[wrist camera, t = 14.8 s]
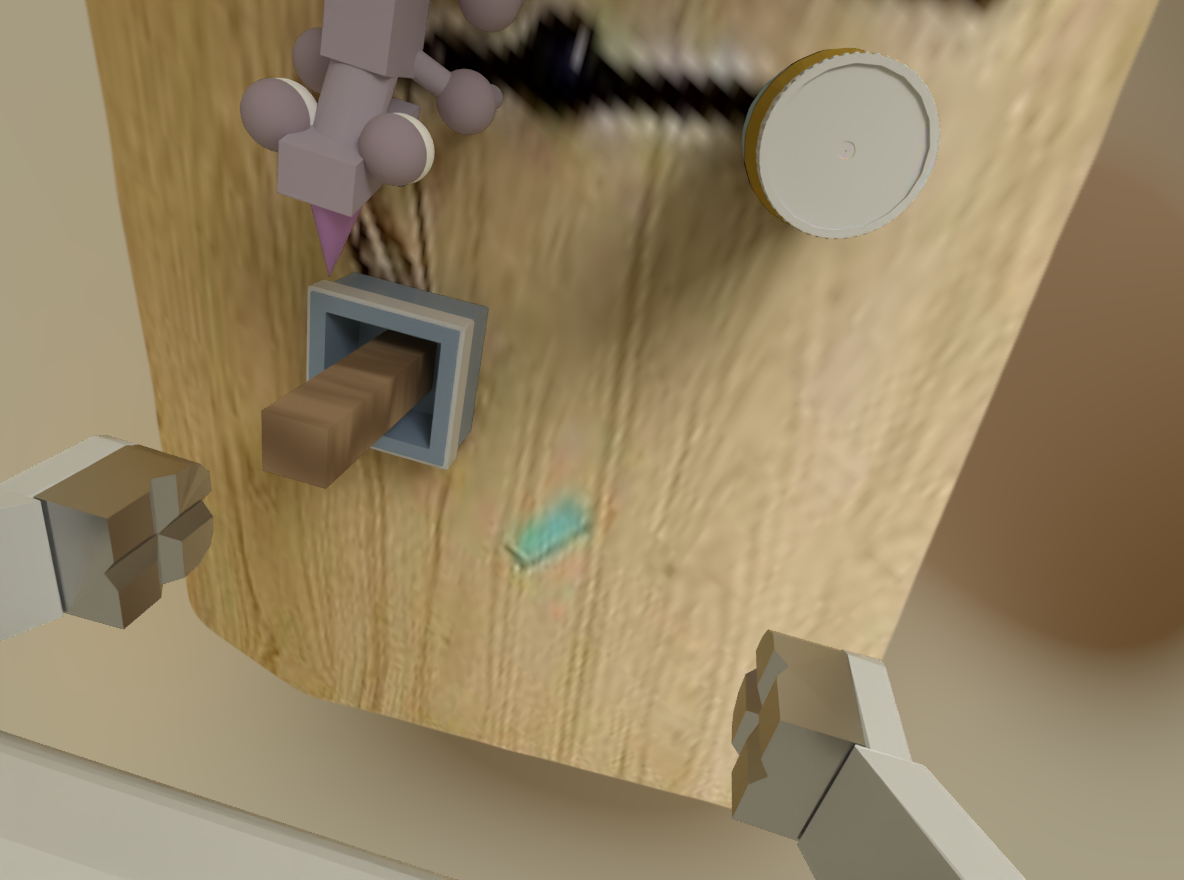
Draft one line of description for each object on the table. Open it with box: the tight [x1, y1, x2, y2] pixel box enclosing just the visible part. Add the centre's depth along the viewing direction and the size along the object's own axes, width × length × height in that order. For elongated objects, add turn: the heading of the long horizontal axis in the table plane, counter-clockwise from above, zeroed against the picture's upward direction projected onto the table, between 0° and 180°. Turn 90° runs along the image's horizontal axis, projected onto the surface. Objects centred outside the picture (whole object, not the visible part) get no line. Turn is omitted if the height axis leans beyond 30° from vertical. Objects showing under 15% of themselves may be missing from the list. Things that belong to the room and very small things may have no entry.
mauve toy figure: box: [240, 0, 525, 277], centre depth 33 cm, size 20×11×14 cm, turn 163°
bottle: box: [742, 48, 940, 239], centre depth 31 cm, size 7×7×15 cm
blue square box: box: [306, 272, 489, 470], centre depth 45 cm, size 10×10×6 cm
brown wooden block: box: [262, 329, 437, 489], centre depth 41 cm, size 4×4×14 cm
